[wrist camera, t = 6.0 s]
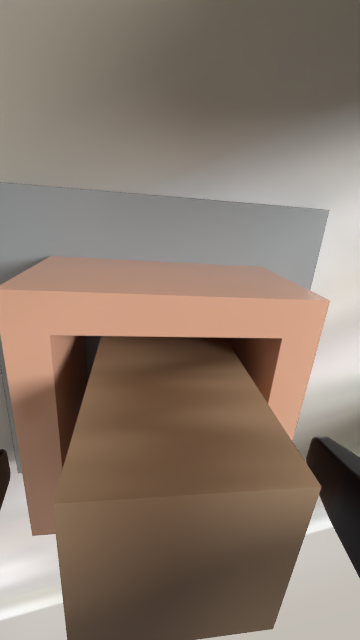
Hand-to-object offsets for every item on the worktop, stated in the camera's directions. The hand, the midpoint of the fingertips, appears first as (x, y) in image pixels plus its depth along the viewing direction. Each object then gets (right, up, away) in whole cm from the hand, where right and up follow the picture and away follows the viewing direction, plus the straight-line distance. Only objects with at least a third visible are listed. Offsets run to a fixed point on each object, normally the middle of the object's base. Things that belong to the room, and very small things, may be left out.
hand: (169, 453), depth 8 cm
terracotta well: (-1, +2, +6) cm, 7 cm away
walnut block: (-1, +2, +6) cm, 6 cm away
